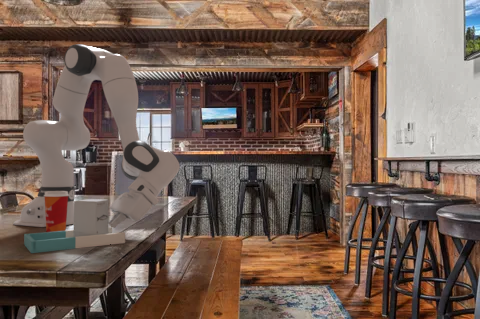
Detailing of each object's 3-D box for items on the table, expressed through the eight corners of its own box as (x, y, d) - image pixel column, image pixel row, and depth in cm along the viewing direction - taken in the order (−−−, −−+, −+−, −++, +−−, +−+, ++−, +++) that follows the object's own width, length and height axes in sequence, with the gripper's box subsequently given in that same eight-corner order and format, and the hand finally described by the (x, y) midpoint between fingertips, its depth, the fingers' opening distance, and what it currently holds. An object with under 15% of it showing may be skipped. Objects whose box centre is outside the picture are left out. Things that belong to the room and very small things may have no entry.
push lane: (31, 253, 106) (31, 241, 106) (24, 244, 117) (24, 234, 117) (125, 242, 120) (125, 232, 120) (111, 236, 131) (111, 226, 131)
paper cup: (43, 232, 135) (44, 190, 135) (68, 231, 138) (69, 190, 138) (42, 237, 128) (42, 192, 128) (68, 235, 131) (69, 192, 131)
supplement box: (95, 245, 117) (96, 201, 117) (72, 244, 118) (73, 200, 118) (108, 240, 124) (109, 199, 124) (86, 239, 126) (87, 198, 126)
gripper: (123, 184, 137) (93, 215, 132) (147, 188, 121) (114, 223, 115) (136, 197, 140) (107, 227, 134) (161, 202, 123) (129, 237, 118)
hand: (110, 225), depth 125 cm, fingers closed
